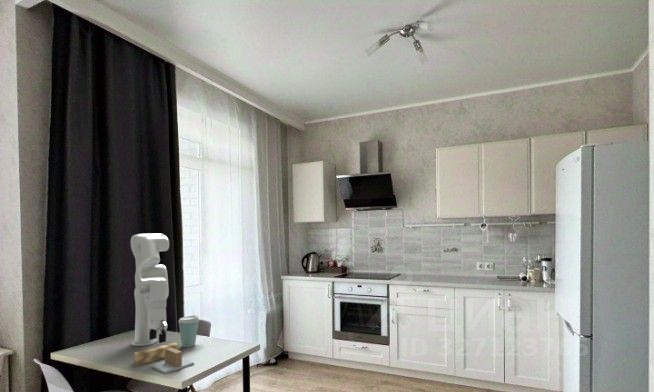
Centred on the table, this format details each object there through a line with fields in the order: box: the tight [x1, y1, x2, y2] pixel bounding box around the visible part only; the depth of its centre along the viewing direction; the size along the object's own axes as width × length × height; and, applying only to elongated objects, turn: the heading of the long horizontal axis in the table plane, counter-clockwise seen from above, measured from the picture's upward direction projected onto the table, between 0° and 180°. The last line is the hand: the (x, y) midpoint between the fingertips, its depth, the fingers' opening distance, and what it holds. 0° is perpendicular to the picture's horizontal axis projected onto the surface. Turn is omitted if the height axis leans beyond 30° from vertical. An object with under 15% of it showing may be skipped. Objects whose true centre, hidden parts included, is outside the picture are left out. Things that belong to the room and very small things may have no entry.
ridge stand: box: [151, 347, 195, 375], centre depth 175 cm, size 12×14×7 cm
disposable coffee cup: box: [178, 314, 200, 348], centre depth 205 cm, size 11×11×15 cm
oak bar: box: [133, 341, 180, 366], centre depth 185 cm, size 20×4×5 cm, turn 139°
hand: (157, 340), depth 185 cm, fingers open, 9 cm apart
